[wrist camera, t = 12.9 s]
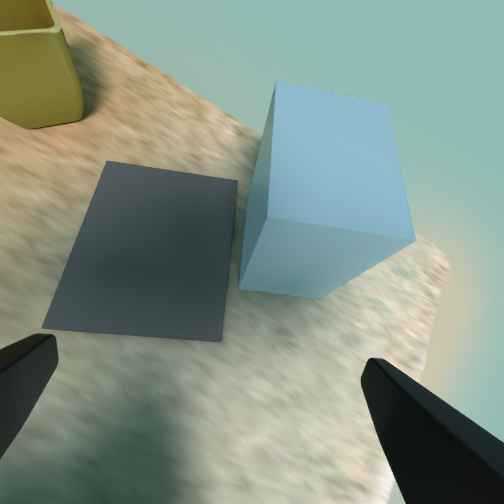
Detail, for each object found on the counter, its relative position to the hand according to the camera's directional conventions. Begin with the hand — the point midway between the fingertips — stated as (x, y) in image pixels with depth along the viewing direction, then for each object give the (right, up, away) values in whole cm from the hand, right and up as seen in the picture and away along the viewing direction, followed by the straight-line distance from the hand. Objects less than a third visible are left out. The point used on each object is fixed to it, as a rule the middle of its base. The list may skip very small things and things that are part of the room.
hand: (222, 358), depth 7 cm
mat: (-8, +4, +16) cm, 18 cm away
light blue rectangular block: (+4, +4, +17) cm, 18 cm away
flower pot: (-21, +18, +20) cm, 34 cm away
